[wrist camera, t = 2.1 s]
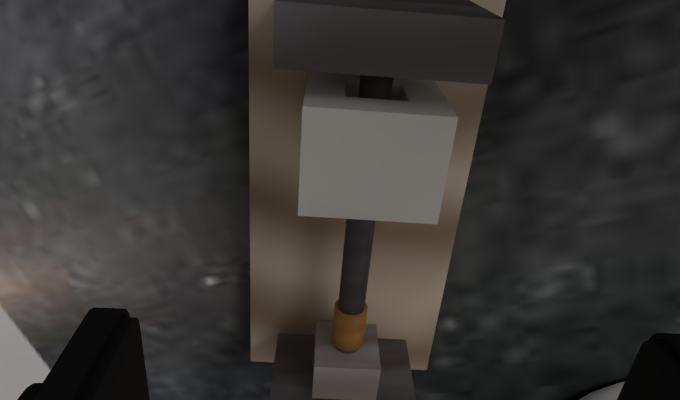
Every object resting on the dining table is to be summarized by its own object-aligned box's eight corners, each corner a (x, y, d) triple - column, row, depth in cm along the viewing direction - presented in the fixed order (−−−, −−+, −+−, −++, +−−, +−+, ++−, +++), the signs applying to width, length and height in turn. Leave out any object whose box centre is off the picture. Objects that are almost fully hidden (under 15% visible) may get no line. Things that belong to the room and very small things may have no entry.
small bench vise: (254, -28, 21) (223, -11, 15) (496, -8, 21) (556, 16, 15) (254, 342, 30) (235, 440, 24) (422, 350, 31) (442, 448, 25)
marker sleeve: (309, 68, 21) (302, 106, 16) (432, 77, 21) (458, 117, 16) (304, 159, 22) (297, 215, 18) (417, 166, 23) (437, 224, 18)
